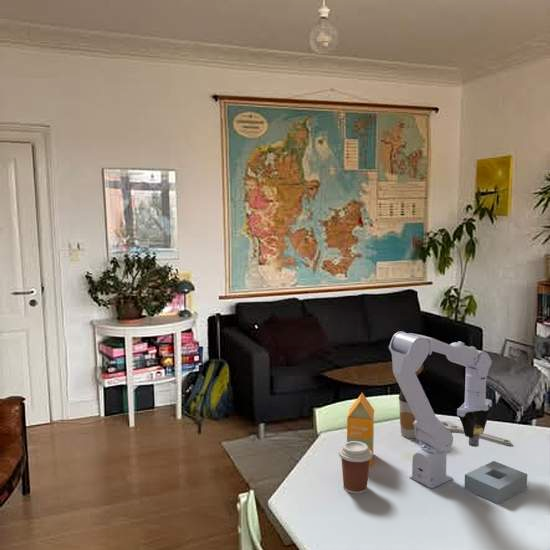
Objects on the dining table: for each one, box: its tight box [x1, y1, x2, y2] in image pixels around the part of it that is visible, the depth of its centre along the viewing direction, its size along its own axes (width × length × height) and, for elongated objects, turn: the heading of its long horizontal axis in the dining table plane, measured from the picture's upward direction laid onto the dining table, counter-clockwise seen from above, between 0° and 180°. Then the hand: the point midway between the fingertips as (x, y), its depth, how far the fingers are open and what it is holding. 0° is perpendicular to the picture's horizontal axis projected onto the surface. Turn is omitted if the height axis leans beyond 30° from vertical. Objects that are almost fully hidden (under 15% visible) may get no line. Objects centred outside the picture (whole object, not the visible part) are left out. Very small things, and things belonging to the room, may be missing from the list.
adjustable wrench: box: [440, 420, 512, 447], centre depth 179 cm, size 25×6×2 cm, turn 43°
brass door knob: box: [468, 424, 484, 448], centre depth 154 cm, size 5×5×6 cm
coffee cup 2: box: [398, 390, 417, 439], centre depth 179 cm, size 8×8×15 cm
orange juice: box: [346, 392, 375, 467], centre depth 160 cm, size 8×9×20 cm
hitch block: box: [463, 460, 528, 505], centre depth 143 cm, size 14×10×4 cm
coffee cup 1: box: [338, 441, 372, 495], centre depth 143 cm, size 9×9×12 cm
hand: (474, 434), depth 154 cm, fingers closed on brass door knob, 5 cm apart
